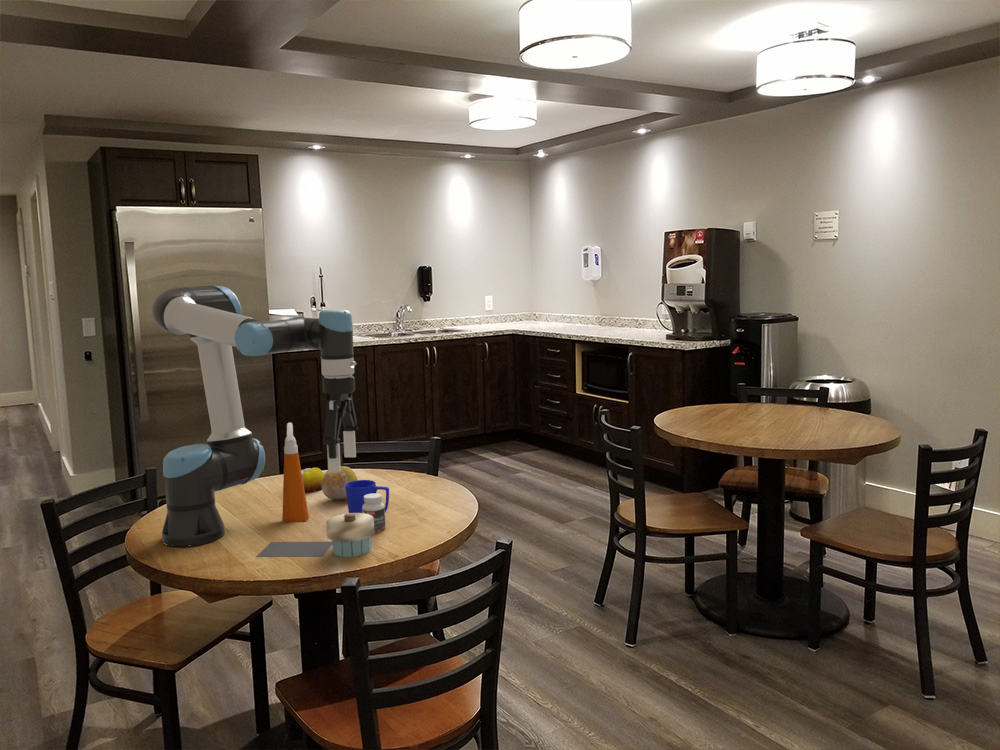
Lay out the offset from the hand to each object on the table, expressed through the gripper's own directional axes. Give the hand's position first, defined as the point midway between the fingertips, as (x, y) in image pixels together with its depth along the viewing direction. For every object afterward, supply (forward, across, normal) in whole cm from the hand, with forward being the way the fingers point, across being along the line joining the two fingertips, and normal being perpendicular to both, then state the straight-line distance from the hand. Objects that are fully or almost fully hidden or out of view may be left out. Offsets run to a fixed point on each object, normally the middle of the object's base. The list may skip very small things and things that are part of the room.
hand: (342, 464), depth 187 cm
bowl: (+21, -3, -2) cm, 22 cm away
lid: (+16, -3, -2) cm, 17 cm away
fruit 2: (+22, +42, +13) cm, 49 cm away
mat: (+22, -2, +12) cm, 25 cm away
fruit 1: (+23, +55, +28) cm, 65 cm away
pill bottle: (+22, +12, -4) cm, 25 cm away
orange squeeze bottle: (+22, +25, +21) cm, 40 cm away
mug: (+22, +23, 0) cm, 32 cm away
